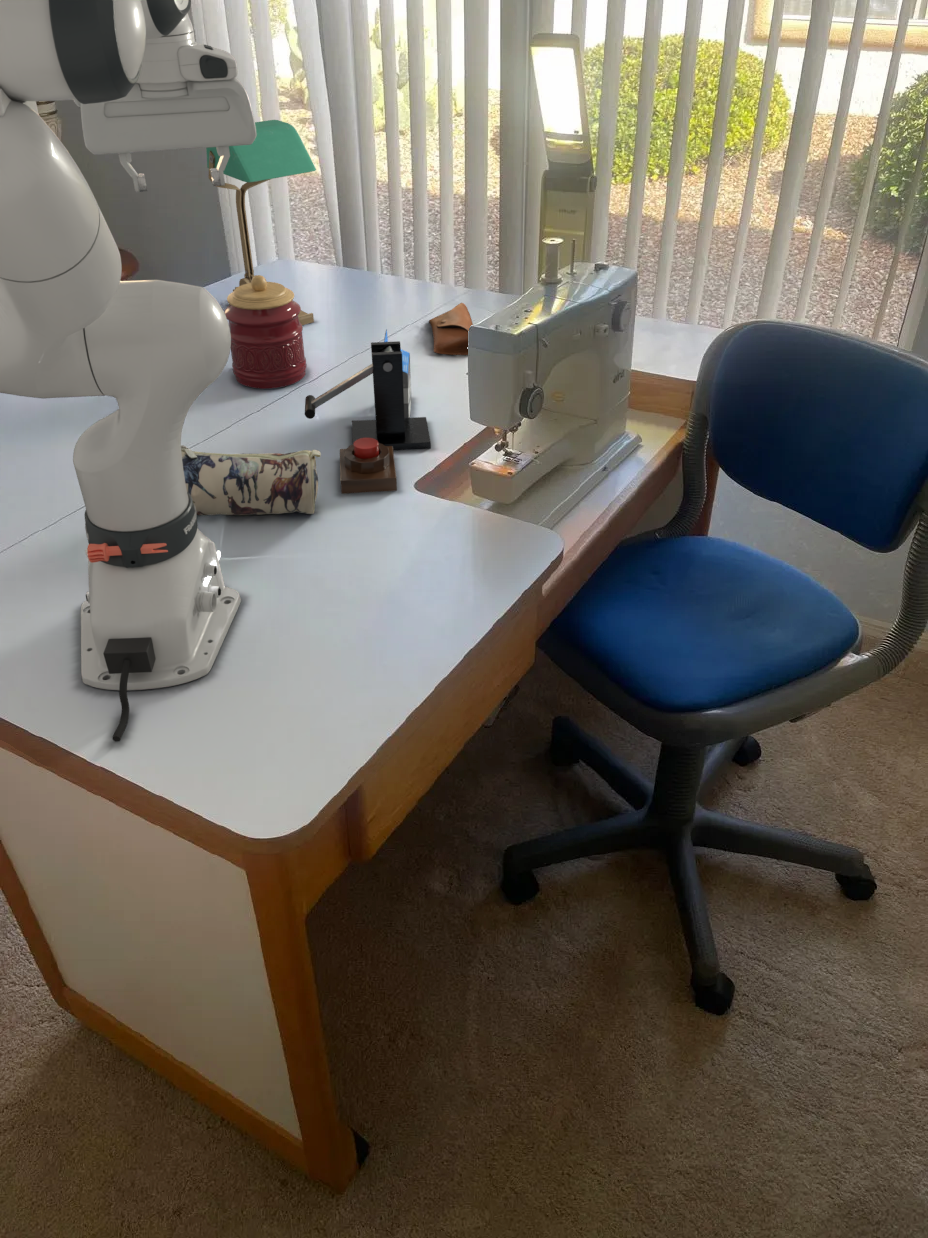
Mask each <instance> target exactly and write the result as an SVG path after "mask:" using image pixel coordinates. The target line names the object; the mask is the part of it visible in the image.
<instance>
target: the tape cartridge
mask: <svg viewBox="0 0 928 1238" xmlns="http://www.w3.org/2000/svg"><path fill="white" fill-rule="evenodd" d="M388 337H389V336H388V329H387V328H386V329H385V333H384V337H383V338H384V339H383V342H389V339H388ZM401 352H402V366H403V391H404V415H405V418H411V411H412V410H411V409H412V381H411V379H412V376H411V353H410V352H409V351H406V350H404V349H402V348H401Z"/></svg>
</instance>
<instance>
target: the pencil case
mask: <svg viewBox="0 0 928 1238" xmlns="http://www.w3.org/2000/svg"><path fill="white" fill-rule="evenodd" d="M181 452H182V462H183V471H184V477H185V483H186V488H187V492H188V493H189V494H190V495H191V497H192V500H193V503H194V506H195V508H196V513H197V514H196V515H197V516H216V515H223V516H251V515H257V516H258V515H259V516H260V515H271V514H273V515H274V514H275V515H281V514H293V513H295V512H297V513H300V514H304V515H314V514H315V511H316V510H315V509H316V501H317V499H318V498H317V497H318V491H319V475H318V472H317V462H316V461H317V459H316V457H317V458H321V455H322V453H321V452H320V451H319V450H317V449H312V450H310V449H304V450H299V451H293V452H287V453H281V452H280V453H279V452H278V453H277V452H276V453H275V452H274V453H273V452H272V453H270V452H269V453H267V452H265V453H217V452H205V451H204V452H203V451H196V450H195V451H194V450H192V449H191V448H189V447H187V446H186V445H184V444H181Z"/></svg>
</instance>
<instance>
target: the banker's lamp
mask: <svg viewBox="0 0 928 1238" xmlns="http://www.w3.org/2000/svg"><path fill="white" fill-rule="evenodd" d="M255 126H256V134H257V136H256V138H255V140H254V142H253V143H252V144H251V145H238V146H229V152H230V157H229V160H228V162H227V165H226V167H225V170H224V171H223V174H224V176H228V177H230V178H233V179H235V180H239V181H240V182H244V183H243V184H242V185H241V186H240V188H239V187H238V186H237V185H235V184H232V183H227V182H225V185H224V186H215V187H216V188H220V189H228V190H233V191H234V190H235V207H236V214H237V222H238V228H239V236H240V237H239V238H240V243H241V245H240V246H241V252H242V258H243V259H242V261H243V267H244V275H243V276H244V277H243V278H240V279H239V282H238V286H235V287H234V289H232V292H233V291H235V289H236V288H237V287H239V286H241V285H244V284H247V283H251V280H252V278H253V277H254V276H256V275H257V274H256V275H255V269H254V264H253V263H254V262H253V257H252V249H251V240H250V234H249V233H250V232H249V226H248V218H247V209H246V193H247V191H248V190H249V189H251V188H253V187H257V186H259V185H261V184H263V183H265V182H268V181H270V180H273V179H279V178H284V177H290V176H295V175H302V174H306V173H313V172H316V171H317V168H316V166H315V163H314V162H313V161H312V158H311V156H310V154H309V152H308V150H307V147H305V144H304V142H303V140H302V138H301V136H300V133H298V131H297V129H296V127H294V125H292V124H290V123H288V122H285V121H282V120H279V119H269V120H261V121H255ZM205 151H206V166H207V167H206V168H207V169H208V179H209V181H210V182H211V183H212V179H211V178H212V176H211V172H210V169H211V168H216V167H217V165H218V162H219V159H220V157H221V156H219V155H218V153H217V149H216V147H208V148H205ZM229 305H230V304H229V303H228V306H229ZM298 318H299V322H300V323H301V324H302V326H304V325H305V326H306V325H308V324H312V323H315V318H314V313H313V312H309V313H308V312H305V311H304V310H302V309H301V311H300V313H299V315H298Z"/></svg>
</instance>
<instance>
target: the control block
mask: <svg viewBox="0 0 928 1238" xmlns="http://www.w3.org/2000/svg"><path fill="white" fill-rule="evenodd" d="M378 444H379V455H378V456H377V457H374V458H370V459H361V458H357V457H355V455H354V444H353V443H352V444H351V445H348V446H347V447H346V448H339V476H340V477H339V480H340V493H341V494H342V495H343V494H344V495H345V494H361V493H363V494H364V493H379V492H380V493H381V492H397V491H398V482H397V471H396V463H395V455H394V454H395V453H394V451H393V446H385V445H383V444H381V443H378Z"/></svg>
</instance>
